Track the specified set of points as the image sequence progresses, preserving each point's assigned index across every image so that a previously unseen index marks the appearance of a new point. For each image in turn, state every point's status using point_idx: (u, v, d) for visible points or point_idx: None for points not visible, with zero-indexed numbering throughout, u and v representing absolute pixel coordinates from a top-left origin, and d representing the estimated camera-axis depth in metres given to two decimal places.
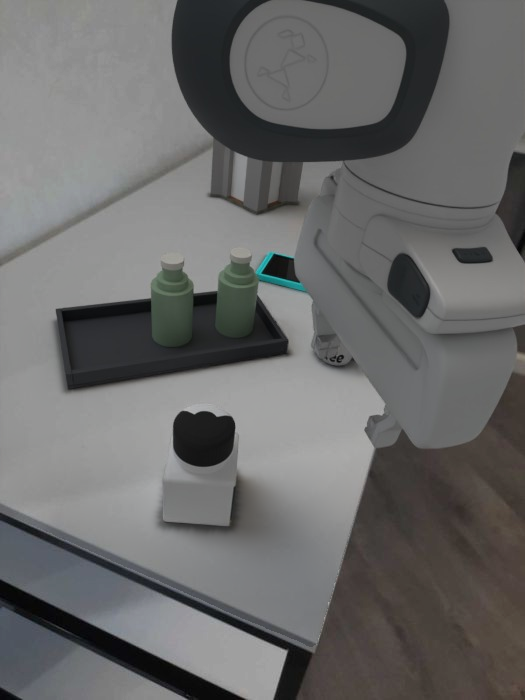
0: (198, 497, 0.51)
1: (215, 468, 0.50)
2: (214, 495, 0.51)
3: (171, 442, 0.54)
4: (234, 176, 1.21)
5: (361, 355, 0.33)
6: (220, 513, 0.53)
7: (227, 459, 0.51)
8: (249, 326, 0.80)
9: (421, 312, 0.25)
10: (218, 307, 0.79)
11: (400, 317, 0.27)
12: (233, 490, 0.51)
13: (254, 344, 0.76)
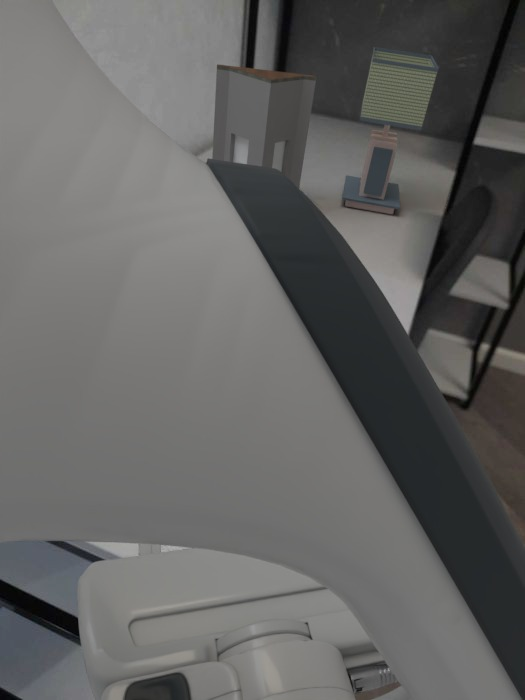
0: None
1: None
2: None
3: None
4: None
5: (209, 559, 0.32)
6: None
7: None
8: None
9: (125, 696, 0.25)
10: None
11: (161, 657, 0.26)
12: None
13: None
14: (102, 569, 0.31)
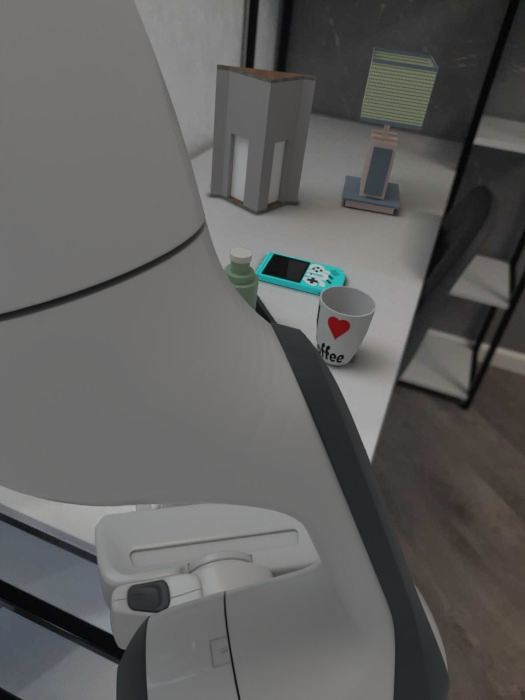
0: None
1: None
2: None
3: None
4: (234, 176, 1.21)
5: (185, 514, 0.46)
6: None
7: None
8: None
9: (128, 592, 0.38)
10: None
11: (151, 572, 0.40)
12: None
13: None
14: (111, 519, 0.45)
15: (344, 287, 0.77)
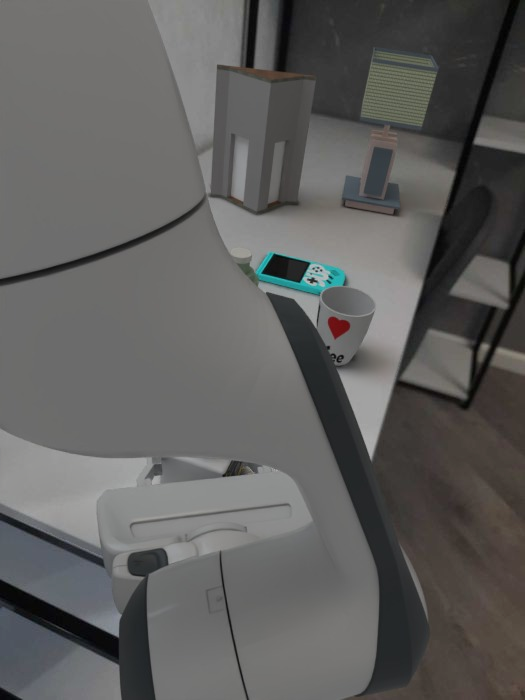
0: (190, 476, 0.53)
1: None
2: (205, 478, 0.53)
3: None
4: (234, 176, 1.21)
5: (183, 489, 0.48)
6: None
7: None
8: None
9: (128, 559, 0.40)
10: None
11: (150, 541, 0.42)
12: None
13: None
14: (112, 493, 0.47)
15: (344, 287, 0.77)
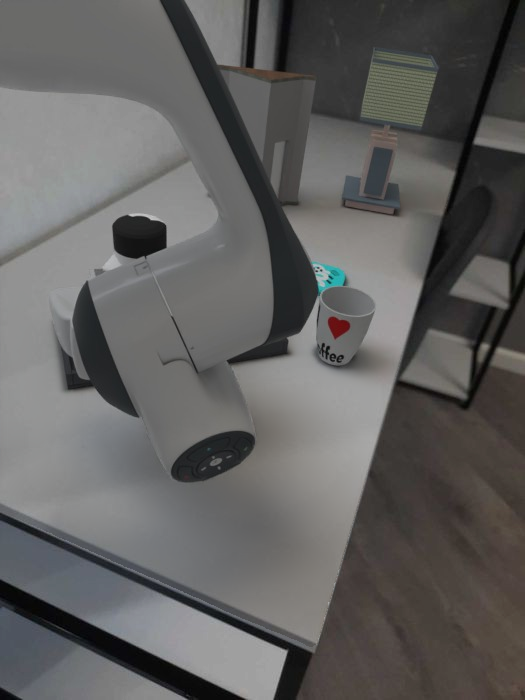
0: None
1: None
2: None
3: None
4: None
5: None
6: None
7: None
8: None
9: None
10: None
11: None
12: None
13: None
14: (62, 289, 0.53)
15: (344, 287, 0.77)
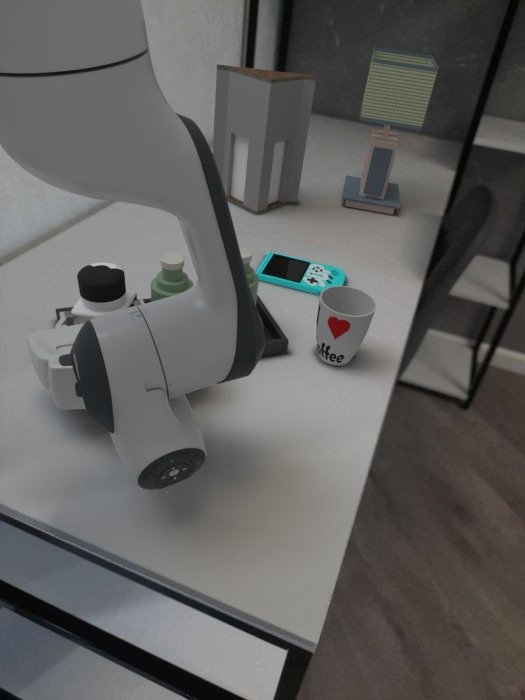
0: None
1: (107, 305, 0.69)
2: None
3: None
4: (234, 176, 1.21)
5: None
6: None
7: (118, 300, 0.69)
8: None
9: (59, 358, 0.57)
10: None
11: None
12: None
13: None
14: (38, 332, 0.62)
15: (344, 287, 0.77)
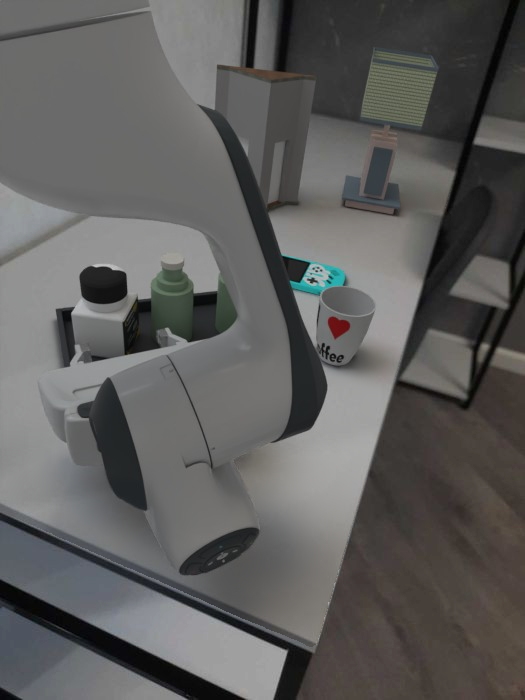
0: (98, 330, 0.70)
1: (109, 307, 0.69)
2: (109, 329, 0.70)
3: None
4: None
5: (114, 362, 0.55)
6: (116, 347, 0.72)
7: (119, 302, 0.69)
8: None
9: (77, 408, 0.47)
10: (218, 307, 0.79)
11: (94, 396, 0.49)
12: (122, 325, 0.69)
13: None
14: (51, 373, 0.53)
15: (344, 287, 0.77)
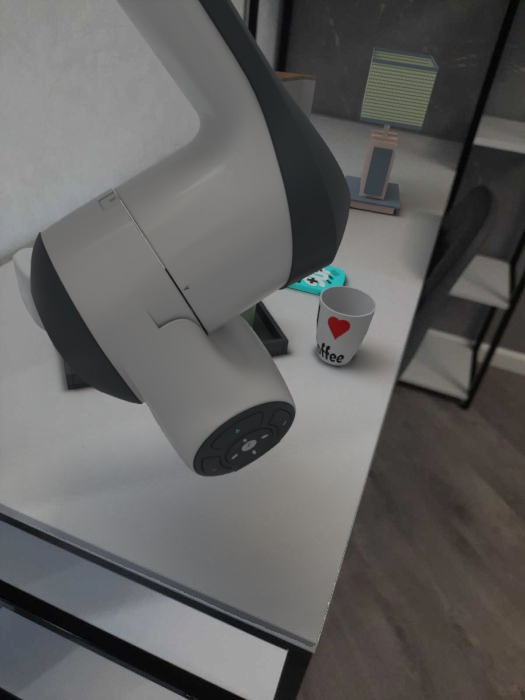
0: None
1: None
2: None
3: None
4: None
5: None
6: None
7: None
8: None
9: None
10: None
11: None
12: None
13: None
14: (29, 249, 0.43)
15: (344, 287, 0.77)
